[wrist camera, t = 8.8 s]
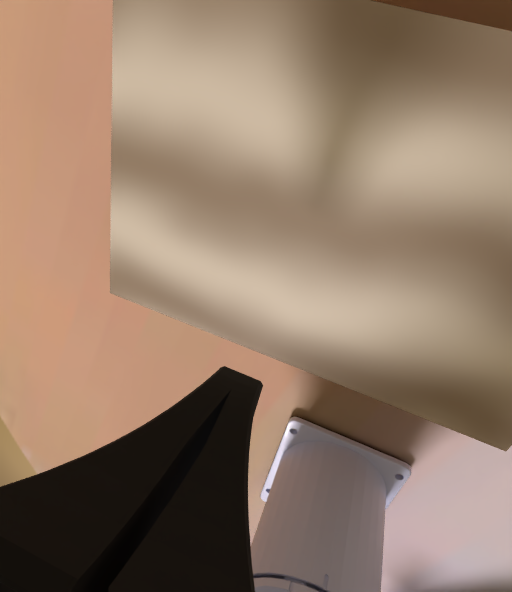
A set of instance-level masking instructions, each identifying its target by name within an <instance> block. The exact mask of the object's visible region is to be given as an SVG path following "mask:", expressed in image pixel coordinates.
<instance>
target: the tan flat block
mask: <svg viewBox="0 0 512 592" xmlns="http://www.w3.org/2000/svg"><path fill="white" fill-rule="evenodd" d="M110 293H111V294H114V295H116V296H119V297H121V298H124V299H126V300H129V301H131V302H134V303H136V304H139V305H141V306H144V307H146V308H149V309H151V310H154V311H156V312H159V313H161V314H164V315H166V316H169V317H171V318H174V319H176V320H179V321H181V322H184V323H186V324H189V325H191V326H194V327H196V328H199V329H201V330H204V331H206V332H209V333H211V334H214V335H216V336H219V337H221V338H224V339H226V340H229V341H231V342H234V343H236V344H239V345H241V346H244V347H246V348H249V349H251V350H254V351H256V352H259V353H261V354H264V355H266V356H269V357H271V358H274V359H276V360H279V361H281V362H284V363H286V364H289V365H291V366H294V367H296V368H299V369H301V370H304V371H306V372H309V373H311V374H314V375H316V376H319V377H321V378H324V379H326V380H329V381H331V382H334V383H336V384H339V385H341V386H344V387H346V388H349V389H351V390H354V391H356V392H359V393H361V394H364V395H366V396H369V397H371V398H374V399H376V400H379V401H381V402H384V403H386V404H389V405H391V406H394V407H396V408H399V409H401V410H404V411H406V412H409V413H411V414H414V415H416V416H419V417H421V418H424V419H426V420H429V421H431V422H434V423H436V424H439V425H441V426H444V427H446V428H449V429H451V430H454V431H456V432H459V433H461V434H464V435H466V436H469V437H471V438H474V439H476V440H479V441H481V442H484V443H486V444H489V445H491V446H494V447H496V448H499V449H501V450H504V451H507V450H508V449H509V448H510V446H511V445H512V31H509V30H504V29H499V28H495V27H490V26H486V25H481V24H477V23H472V22H467V21H463V20H458V19H454V18H449V17H445V16H440V15H435V14H431V13H426V12H422V11H417V10H413V9H408V8H403V7H399V6H394V5H390V4H385V3H381V2H376V1H371V0H113V37H112V139H111V241H110Z"/></svg>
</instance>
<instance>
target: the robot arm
mask: <svg viewBox="0 0 512 592" xmlns="http://www.w3.org/2000/svg"><path fill="white" fill-rule="evenodd" d="M262 387H263V385H262V383H261V381H259V380H256V379H254V378H252V377H249V376H247V375H244V374H242V373H239V372H237V371H235V370H232V369H230V368H227V367H225V366H224V367H221V368H220V369H219V370H218V371H217V372H216V373H214V374H213V375H212V376H211V377H210V378H209V379H208V380H206V381H205V382H204V383H203V384H201V385H200V386H199V387H198V388H196V389H195V390H194V391H193V392H191V393H190V394H189V395H187V396H186V397H184V398H183V399H182V400H180V401H179V402H178V403H176V404H175V405H173V406H172V407H171V408H169V409H168V410H166V411H164V412H163V413H161V414H160V415H158V416H157V417H155V418H154V419H152V420H151V421H149V422H147V423H146V424H144V425H142V426H141V427H139V428H137V429H136V430H134V431H132V432H130V433H128V434H127V435H125V436H123V437H121V438H119V439H117V440H115V441H113V442H111V443H109V444H107V445H105V446H103V447H101V448H99V449H97V450H95V451H93V452H91V453H89V454H86V455H84V456H82V457H80V458H77V459H75V460H72V461H70V462H67V463H65V464H63V465H60V466H58V467H55V468H53V469H50V470H48V471H45V472H43V473H40V474H37V475H34V476H31V477H29V478H25V479H23V480H20V481H16V482H14V483H10V484H7V485H4V486H2V487H0V592H381V578H382V560H383V542H384V524H385V510H386V508H387V507H388V506H389V504H390V503H391V501H392V500H393V499H394V497H395V496H396V495H397V493H398V492H399V490H400V489H401V488H402V486H403V485H404V483H405V482H406V481H407V479H408V478H409V477H410V475H411V467H410V465H409V464H407V463H405V462H403V461H400V460H398V459H396V458H393V457H391V456H388V455H386V454H384V453H381V452H379V451H377V450H374V449H372V448H370V447H367V446H365V445H362V444H360V443H358V442H355V441H353V440H351V439H348V438H346V437H344V436H341V435H339V434H337V433H334V432H332V431H329V430H327V429H325V428H322V427H320V426H318V425H315V424H313V423H311V422H308V421H306V420H303V419H301V418H299V417H291V418H290V419H289V422H288V425H287V427H286V430H285V432H284V435H283V438H282V440H281V443H280V445H279V448H278V450H277V453H276V456H275V458H274V461H273V463H272V466H271V469H270V471H269V474H268V476H267V479H266V481H265V484H264V487H263V489H262V492H261V495H260V497H261V499H262V500H263V501H265V502H266V504H265V507H264V509H263V512H262V515H261V518H260V521H259V524H258V527H257V530H256V533H255V536H254V539H253V542H252V545H251V546H250V534H249V517H248V463H249V447H250V438H251V429H252V422H253V416H254V413H255V410H256V406H257V403H258V400H259V397H260V393H261V390H262ZM292 428H293V429H292ZM294 429H296V430H294ZM399 474H401V475H399Z"/></svg>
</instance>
